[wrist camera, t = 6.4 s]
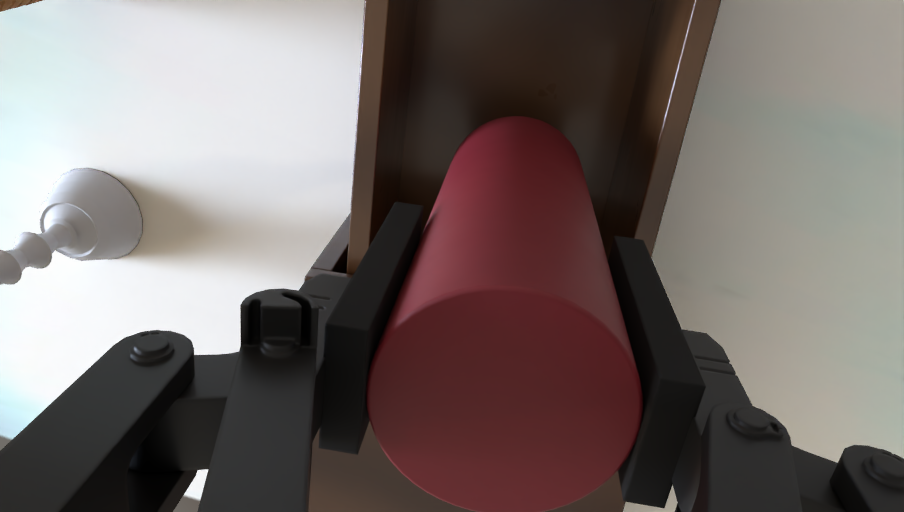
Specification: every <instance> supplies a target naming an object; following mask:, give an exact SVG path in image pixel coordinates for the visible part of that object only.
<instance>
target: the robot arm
mask: <svg viewBox="0 0 904 512" xmlns="http://www.w3.org/2000/svg"><path fill="white" fill-rule="evenodd" d="M423 208H424V206H421V205H415V204H408V203H402V202H395V203H394V205H393V207H392V208H391V210H390V212H389V213H388V215H387V217H386V219H385V220H384V222H383V224H382V226H381V227H380V229H379V231H378V233H377V234H376V236H375V238H374V240H373V241H372V243H371V245H370V246H369V248H368V250H367V252H366V253H365V255H364V257H363V259H362V260H361V262H360V264H359V266H358V267H357V269H356V271H355V273H354V274H353V276H352V278H349V277H343V276H337V275H331V274H324V273H320V274H318V275H316V276H315V277H313V278H311V279H309V280H307V281H305V282H304V284H303V285H302V287H301V288H300V289H299V291H297V290H289V289H268V290H264V291H260V292H256V293H254V294H252V295H250V296H249V297H247V298H245V300H244V301H243V302H242V304H241V347H240V351H239V352H236V353H231V354H221V355H194V348H193V345H192V342H191V340H189V339H188V338H187V337H185V336H184V335H182V334H179V333H175V332H172V331H160V330H153V331H145V332H141V333H137V334H135V335H132V336H129V337H126V338H124V339H123V340H121V341H119V342H118V343H116V344H115V345H114V346H113V347H112V348H110V349H109V350H108V351H107V352H106V353H105V354H104V355H103V356H102V357H101V358H100V359H99V360H98V361H96V362H95V363H94V364H93V365H92V366H91V367H90V368H89V369H88V370H87V371H86V372H85V373H84V374H82V375H81V376H80V377H79V378H78V379H77V380H76V381H75V382H74V383H73V384H72V385H71V386H70V387H68V388H67V389H66V390H65V391H64V392H63V393H62V394H61V395H60V396H59V397H58V398H57V399H56V400H54V401H53V402H52V403H51V404H50V405H49V406H48V407H47V408H46V409H45V410H44V411H43V412H42V413H41V414H39V415H38V416H37V417H36V418H35V419H34V420H33V421H32V422H31V423H30V424H29V425H28V426H27V427H25V428H24V429H23V430H22V431H21V432H20V433H19V434H18V435H17V436H16V437H15V438H14V439H13V440H11V441H10V442H9V443H8V444H7V445H6V446H5V447H4V448H3V449H2V450H1V451H0V512H173V510H174V509H175V507H176V506H177V504H178V503H179V501H180V499H181V498H182V496H183V495H184V493H185V492H186V490H187V488H188V487H189V485H190V484H191V482H192V481H193V479H194V477H195V476H196V473H197V470H202V469H209V470H208V474H207V478H206V481H205V485H204V489H203V493H202V497H201V501H200V504H199V509H198V512H308V509H309V494H310V478H311V463H312V443H313V441H314V438H315V436H316V434H317V432H318V430H319V448H321V449H327V450H333V451H338V452H344V453H350V454H356V455H358V453H359V450H360V447H361V444H362V441H363V439H364V436H365V433H366V430H367V427H368V424H369V421H370V420H369V416H368V411H367V406H366V386H367V376H368V372H369V368H370V364H371V361H372V358H373V356H374V353H375V351H376V348H377V346H378V343H379V341H380V338H381V336H382V333H383V331H384V329H385V326H386V324H387V321H388V319H389V316H390V314H391V311H392V309H393V306H394V304H395V301H396V299H397V296H398V294H399V291H400V289H401V286H402V284H403V281H404V279H405V276H406V274H407V271H408V269H409V266H410V264H411V261H412V259H413V256H414V254H415V251H416V249H417V246H418V244H419V241H420V234H421V225H422V216H423ZM608 264H609V268H610V271H611V275H612V278H613V282H614V286H615V289H616V293H617V297H618V300H619V304H620V308H621V311H622V315H623V319H624V322H625V326H626V330H627V333H628V337H629V340H630V344H631V348H632V351H633V355H634V359H635V362H636V366H637V370H638V373H639V377H640V381H641V387H642V393H643V416H642V421H641V426H640V430H639V433H638V436H637V439H636V442H635V444H634V446H633V448H632V450H631V452H630V454H629V456H628V457H627V459H626V460H625V462H624V463H623V464H622V466H621V467H620V468H619V470H618V474H619V480H620V486H621V491H622V497H623V501H626V502H631V503H637V504H643V505H648V506H654V507H660V508H665V505H666V502H667V499H668V496H669V493H670V490H671V487H672V484H673V487H674V491H675V494H676V498H677V501H678V504H677V507H676V510H675V512H904V459H903V458H901V457H899V456H897V455H895V454H891V452H888V451H886V450H883V449H877V448H874V447H870V446H862V445H853V446H850V447H847V448H845V449H844V451H843V453H842V455H841V457H840V460H839V462H838V463H836V462H833V461H831V460H828V459H825V458H822V457H820V456H817V455H814V454H811V453H808V452H806V451H803V450H801V449H799V448H796V447H794V446H792V445H791V440H790V436H789V434H788V432H787V430H786V428H785V427H784V426H783V425H782V424H781V423H780V422H779V421H778V420H777V419H776V418H774V417H773V416H771V415H770V414H768V413H766V412H765V411H763V410H761V409H759V408H756V407H754V406H752V404H751V402H750V400H749V398H748V396H747V394H746V392H745V390H744V388H743V386H742V384H741V383H740V381H739V379H738V377H737V376H735V371H734V369H733V367H732V365H731V364H729V362H730V361H729V359H728V357H727V355H726V353H725V351H724V349H723V348H722V347H721V346H720V345H719V344H718V343H717V342H716V341H715V340H713V339H712V338H711V337H710V336H709V335H708V334H707V333H701V332H694V331H688V330H682V329H681V327H680V325H679V322H678V320H677V318H676V315H675V313H674V310H673V308H672V306H671V303H670V301H669V299H668V296H667V294H666V292H665V289H664V287H663V285H662V282H661V280H660V278H659V275H658V273H657V271H656V268H655V266H654V264H653V261H652V259H651V257H650V254H649V252H648V249H647V247H646V245H645V242H644V240H640V239H634V238H627V237H621V236H614V239H613V243H612V247H611V251H610V255H609V259H608ZM319 427H320V429H319Z"/></svg>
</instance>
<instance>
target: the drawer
mask: <svg viewBox="0 0 904 512" xmlns="http://www.w3.org/2000/svg"><path fill="white" fill-rule="evenodd" d="M720 3H721V0H365V5H364V20H363V35H362V50H361V65H360V80H359V95H358V110H357V125H356V140H355V155H354V170H353V185H352V200H351V215H350V230H349V245H348V260H347V274H351V275H353V274H354V273H355V271H356V269H357V267H358V266H359V264H360V262H361V260H362V259H363V257H364V255H365V253H366V252H367V250H368V248H369V246H370V245H371V243H372V241H373V240H374V238H375V236H376V234H377V233H378V231H379V229H380V227H381V226H382V224H383V222H384V220H385V219H386V217H387V215H388V213H389V212H390V210H391V208H392V207H393V205H394V203H395V202H402V203H408V204H415V205H421V206H424V208H423V216H422V225H421V234H420V239H421V236H422V234H423V231H424V229H425V226H426V224H427V221H428V219H429V217H430V214H431V212H432V209H433V207H434V204H435V202H436V199H437V197H438V194H439V192H440V189H441V187H442V184H443V182H444V179H445V177H446V174H447V172H448V169H449V167H450V164H451V162H452V159H453V157H454V155H455V153H456V151H457V149H458V147H459V146H460V144H461V143H462V142H463V141H464V139H465V138H466V137H467V136H468V135H469V134H470V133H471V132H472V131H474V130H475V129H477V128H478V127H480V126H481V125H483V124H485V123H487V122H489V121H492V120H495V119H498V118H503V117H509V116H524V117H530V118H535V119H538V120H541V121H543V122H545V123H548V124H550V125H551V126H553V127H554V128H556V129H557V130H559V131H560V132H561V133H562V134H563V135H564V136H565V137H566V138H567V139H568V140H569V141H570V142H571V144H572V145H573V147H574V148H575V150H576V152H577V154H578V156H579V159H580V162H581V165H582V169H583V173H584V176H585V180H586V184H587V187H588V191H589V195H590V198H591V202H592V205H593V209H594V213H595V216H596V220H597V224H598V227H599V231H600V235H601V238H602V242H603V246H604V249H605V253H606V257H607V260H608V259H609V255H610V251H611V247H612V243H613V239H614V236H621V237H627V238H634V239H640V240H644V242H645V245H646V247H647V249H648V252H649V254H650V257H651V256H652V253H653V249H654V245H655V242H656V238H657V234H658V231H659V227H660V223H661V220H662V216H663V212H664V209H665V205H666V201H667V198H668V194H669V190H670V187H671V183H672V179H673V176H674V172H675V168H676V165H677V161H678V157H679V154H680V150H681V146H682V143H683V139H684V135H685V132H686V128H687V124H688V121H689V117H690V113H691V110H692V106H693V102H694V99H695V95H696V91H697V88H698V84H699V80H700V77H701V73H702V69H703V66H704V62H705V58H706V55H707V51H708V47H709V44H710V40H711V36H712V32H713V29H714V25H715V21H716V18H717V14H718V10H719V7H720Z"/></svg>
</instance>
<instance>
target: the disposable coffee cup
mask: <svg viewBox="0 0 904 512" xmlns="http://www.w3.org/2000/svg"><path fill="white" fill-rule="evenodd" d="M39 1H42V0H0V12H1V11H5V10H8V9H12V8H17V7H20V6H23V5H29V4H32V3H35V2H39Z"/></svg>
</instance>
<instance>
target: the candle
mask: <svg viewBox="0 0 904 512" xmlns="http://www.w3.org/2000/svg"><path fill="white" fill-rule="evenodd" d="M366 406H367V411H368V416H369V420H370V423H371V426H372V429H373V432H374V435H375V437H376V439H377V441H378V442H379V444H380V446H381V448H382V450H383V451H384V453H385V454H386V455H387V457H388V458H389V460H390V461H391V462H392V463H393V464H394V466H395V467H396V468H397V469H398V470H399V471H400V472H401V473H402V474H403V475H404V476H405V477H407V478H408V479H409V480H410V481H411V482H412V483H414V484H415V485H417V486H418V487H420V488H421V489H422V490H424V491H425V492H427V493H429V494H431V495H433V496H434V497H436V498H438V499H440V500H442V501H445V502H447V503H450V504H452V505H455V506H458V507H461V508H464V509H468V510H471V511H476V512H545V511H549V510H554V509H557V508H560V507H563V506H566V505H569V504H571V503H573V502H575V501H577V500H580V499H582V498H584V497H585V496H587V495H589V494H590V493H592V492H593V491H595V490H597V489H598V488H599V487H600V486H602V485H603V484H604V483H605V482H607V481H608V480H609V479H610V478H611V477H612V476H613V475H614V474H615V473H616V472H617V471H618V470H619V468H620V467H621V466H622V464H623V463H624V462H625V460H626V459H627V457H628V456H629V454H630V452H631V450H632V448H633V446H634V444H635V442H636V439H637V436H638V433H639V430H640V426H641V421H642V416H643V393H642V387H641V381H640V377H639V373H638V370H637V366H636V362H635V359H634V355H633V351H632V348H631V344H630V340H629V337H628V333H627V330H626V326H625V322H624V319H623V315H622V311H621V308H620V304H619V300H618V297H617V293H616V289H615V286H614V282H613V278H612V275H611V271H610V268H609V264H608V260H607V257H606V253H605V249H604V246H603V242H602V238H601V235H600V231H599V227H598V224H597V220H596V216H595V213H594V209H593V205H592V202H591V198H590V195H589V191H588V187H587V184H586V180H585V176H584V173H583V169H582V165H581V162H580V159H579V156H578V154H577V152H576V150H575V148H574V147H573V145H572V144H571V142H570V141H569V140H568V139H567V138H566V137H565V136H564V135H563V134H562V133H561V132H560V131H559V130H557V129H556V128H554V127H553V126H551V125H550V124H548V123H545V122H543V121H541V120H538V119H535V118H530V117H524V116H509V117H503V118H498V119H495V120H492V121H489V122H487V123H485V124H483V125H481V126H480V127H478V128H477V129H475V130H474V131H472V132H471V133H470V134H469V135H468V136H467V137H466V138H465V139H464V141H463V142H462V143H461V144H460V146H459V147H458V149H457V151H456V153H455V155H454V157H453V159H452V162H451V164H450V167H449V169H448V172H447V174H446V177H445V179H444V182H443V184H442V187H441V189H440V192H439V194H438V197H437V199H436V202H435V204H434V207H433V209H432V212H431V214H430V217H429V219H428V221H427V224H426V226H425V229H424V231H423V234H422V236H421V239H420V241H419V244H418V246H417V249H416V251H415V254H414V256H413V259H412V261H411V264H410V266H409V269H408V271H407V274H406V276H405V279H404V281H403V284H402V286H401V289H400V291H399V294H398V296H397V299H396V301H395V304H394V306H393V309H392V311H391V314H390V316H389V319H388V321H387V324H386V326H385V329H384V331H383V333H382V336H381V338H380V341H379V343H378V346H377V348H376V351H375V353H374V356H373V358H372V361H371V364H370V368H369V372H368V376H367V386H366Z"/></svg>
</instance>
